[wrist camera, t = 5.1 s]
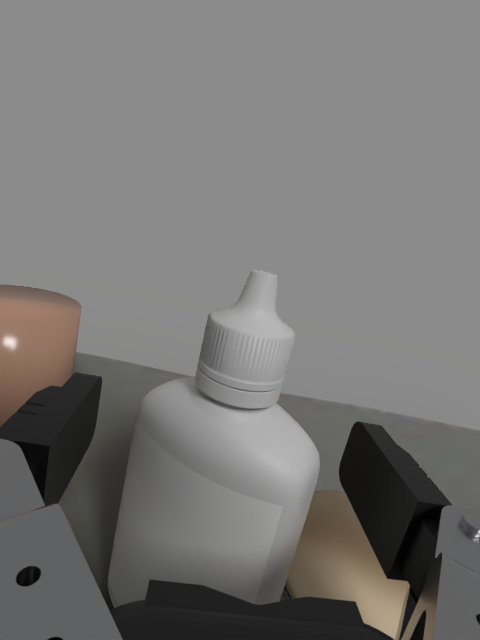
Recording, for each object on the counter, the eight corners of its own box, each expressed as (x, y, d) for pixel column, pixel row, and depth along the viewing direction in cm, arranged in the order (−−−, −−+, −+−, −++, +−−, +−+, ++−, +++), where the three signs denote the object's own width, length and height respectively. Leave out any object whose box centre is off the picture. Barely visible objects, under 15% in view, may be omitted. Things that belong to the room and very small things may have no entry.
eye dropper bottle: (139, 760, 9) (248, 292, 6) (99, 565, 14) (152, 242, 11) (279, 680, 11) (406, 311, 9) (205, 536, 16) (272, 263, 13)
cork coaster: (557, 759, 11) (567, 746, 11) (266, 649, 12) (271, 635, 12) (448, 532, 20) (453, 523, 20) (284, 480, 21) (287, 471, 21)
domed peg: (13, 471, 17) (25, 329, 15) (-97, 433, 18) (-96, 293, 16) (88, 413, 23) (102, 305, 21) (2, 386, 24) (10, 280, 22)
